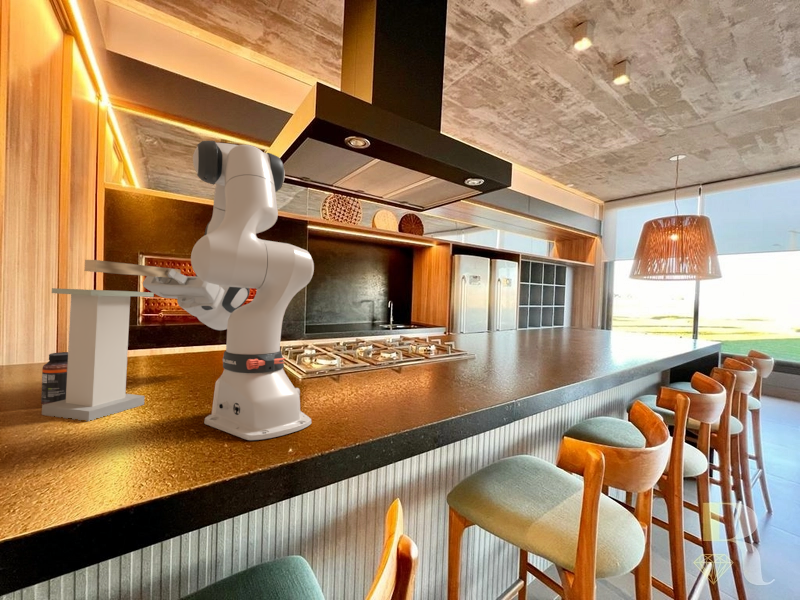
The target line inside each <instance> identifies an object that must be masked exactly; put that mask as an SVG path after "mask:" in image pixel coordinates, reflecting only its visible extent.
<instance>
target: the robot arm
mask: <svg viewBox="0 0 800 600" xmlns="http://www.w3.org/2000/svg"><path fill="white" fill-rule="evenodd" d="M192 165H193V168H194V170H195V172H196V176H197V177H198V179H200V180H201V181H202V182H205V183H207V184H210V185H212V186H213V185H215V188H214V195H213V207H212V208H213V210H212V216H211V219H210V220H209V222H208V223H207V225H206V227H205V231H204V235H203V236H201V238H200V239H198V240H197V241H196V243H195V244H194V246H193V248H192V251H191V254H190V255H191V256H190V264H191V267H192V270H193V272H194V273H195V275H194V276H192V275H191V276H189V275H184V274H182V273H181V274H180V273H178V272H176V271H175V270H173V269H174V268H171V269H167V270H166V271H165V275H167V276H168V277H169V278H165V277H152V276H145V278H144V280H143V282H142V286H143V288H145V289H147V290H148V291H150V292H152V293H154V295H157V296H158V297H161V298H163V299H172V300H173V299H176V300H177V301H176V302H177V304H178V306H179V308H181V309H183V310H184V311H186V312H187V313H188V314H190V315H191V316H194V317H196V318H197V319H198V321H199V322H201V323H202V324H204V325H206V326H207V327H208V328H211V329H213V330H215V331H224V330H226V348H225V351H224V352H223V357H222V368H223V372H222V373H221V375H220V376H219V377H218V379H217V380H216V381H215V384H214V392H213V398H212V400H213V401H212V408H211V414H208V415H207V416H205V418H204V423H203V424H205V425H207V426H208V427H209V426H210V427H211V428H214V429H218V430H219V431H223V432H226V433H227V434H231V435H233V436H236V437H238V438H241V439H244V440H247V441H259V440H267V439H272V438H276V437H281V436H285V435H288V434H291V433H294V432H298V431H302V430H303V429H305V428H307V427H309V426H310V425H311V424H312V418H311V417H309V416H308V415H307V414H306V413H304V412H303V411H301V398H300V397H301V390H300V388H299V387H295V386H294V385H293V383H292V382H291V380H290V379H289V377H288V375H287V374H286V372H285V370H284V367H285V364H286V362H285V361H284V360H286V357H284V356H283V353H282V350H281V338H282V327H283V320H284V316H285V313H286V310H287V308H288V306H289V304H290V303H291V301H292V299H294V297H295V296H296V295H297V293H299V292H300V291H301V290H302V289H304V288H306V287H307V286H308V284H310V282H311V280H312V278H313V275H314V272H315V271H314V270H315V263H314V260H313V258H312V255H311V254H310V252H309V251H308V250H306V249H304V248H301V247H299V246H296V245H293V244H291V243H287V242H280V241H279V242H278V241H274V240H273V241H272V240H266V239H261V238H258V236H257V234H259V233H263V232H265V231H267V230H269V229H270V228H272V227H273V226H274V225H275V224H276V222H277V221H278V216H279V211H278V202H277V194H276V193H277V192H278V191H279V190H281V189H282V187H283V185H284V181H285V178H286V177H285V176H286V174H285V173H286V171H285V167H284V166H285V165H284V163H283V160H281V158H280V157H279V156H277V155H276V154H273V153H270V152H263V151H262V150H261V149H260V148H259V147H256V146H254V145H252V144H234V143H225V142H216V140H202V141H200V142H199V143H197V144H196V148H195V149H194V152H193V154H192ZM251 289H256V293H255V295H254V297H253V299H252V300H251V301H250V302H249V303H246V304H245V302H246V301H247V300H248V298H249V296H250V291H251Z"/></svg>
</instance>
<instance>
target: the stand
mask: <svg viewBox="0 0 800 600" xmlns="http://www.w3.org/2000/svg"><path fill="white" fill-rule="evenodd" d="M51 294H61V295H70V311H69V331H68V348H67V349H68V351H67V352H68V367H67V387H66V399H65V400H61V401H57V402H53V403H48V404H44V405H42V404H41V415H42V416H48V417H54V416H55V418H61V417H63V419H68V418H72V419H71V420H75V419H78V420H77V421H81V420H86V421H85V422H88V421H89V422H91V421H90V420H92V421H94V419H95V420H97V419H96V418H99V419H101V418H100V417H102V418H104V417H103V416H105V417H107V415H108V416H111V415H110V414H112V415H115V414H119V413H121V412H124V410H125V411H127V409H128V410H131V409H134V408H138V407H141V406H144V405H145V395H143V394H142V395H141V394H140V395H139V394H132V393H126V391H127V390H126V389H127V372H128V370H127V367H128V350H129V349H128V347H129V331H130V330H129V329H130V313H131V312H130V309H131V307H130V306H131V297H144V298H146V297H149V298H154V295H155V294H154V293H153V292H151V291H150V292H146V291H133V290H132V291H129V290H110V289H109V290H106V289H105V290H104V289H81V288H79V289H78V288H77V289H76V288H57V287H56V288H51ZM114 413H115V414H114Z"/></svg>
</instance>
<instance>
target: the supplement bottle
mask: <svg viewBox="0 0 800 600" xmlns="http://www.w3.org/2000/svg"><path fill="white" fill-rule="evenodd" d="M67 367H68V351H65V352H63V351H62V352H60V351H59V352H53V353H49V354H48V362H46V363H45V364H44V365H43V366H42V369H41V370H42V374H41V396H40V398H41V399H40V401H41V402H40V403H41V406H42V405H44V404H48V403H53V402H57V401H61V400H65V399H66V387H67Z"/></svg>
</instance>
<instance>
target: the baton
mask: <svg viewBox="0 0 800 600" xmlns="http://www.w3.org/2000/svg"><path fill="white" fill-rule="evenodd" d="M167 269H173V270H175V271H176V272H178V273H180V274H182V272H181V269H179V268H172V267H171V268H170V267H162V266H161V267H160V266H152V265H143V264H136V263H135V264H133V263H125V262H117V261H116V262H115V261H110V260H109V261H107V260H98V259H84V272H92V273H102V274H103V273H106V274H116V275H117V274H118V275H129V276H130V275H131V276H141V277H142V276H143V277H147V276H152V277H165V278H169V277H168V276H167V275H165V271H166V270H167Z"/></svg>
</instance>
